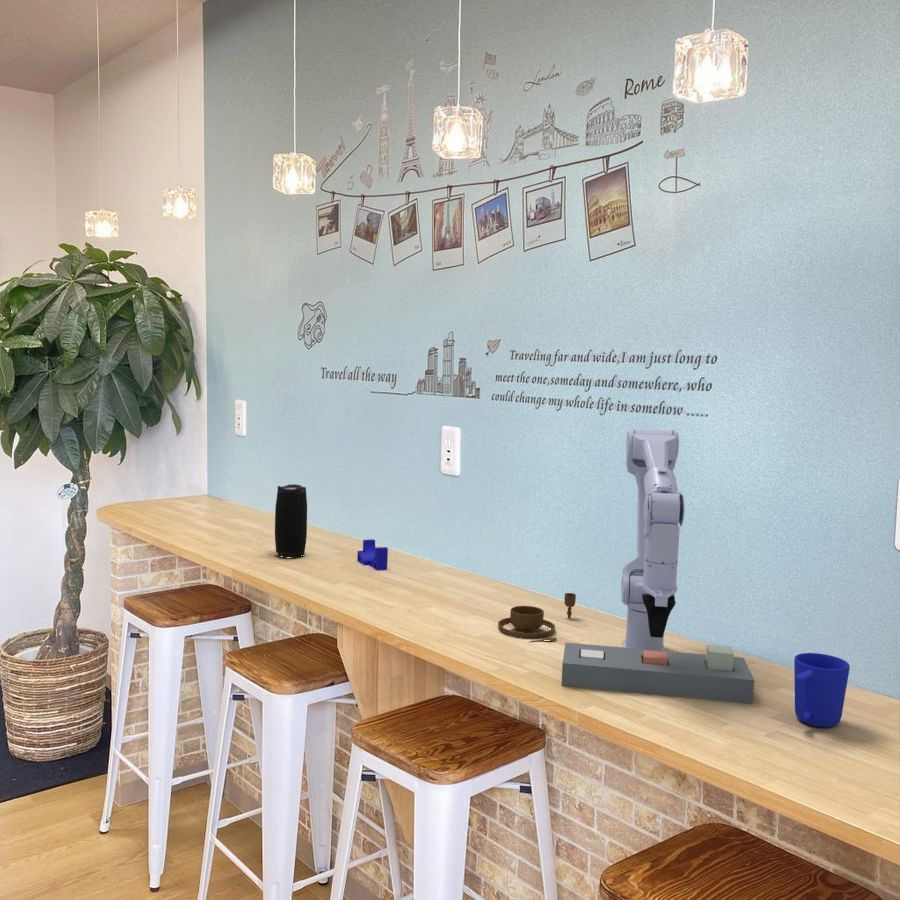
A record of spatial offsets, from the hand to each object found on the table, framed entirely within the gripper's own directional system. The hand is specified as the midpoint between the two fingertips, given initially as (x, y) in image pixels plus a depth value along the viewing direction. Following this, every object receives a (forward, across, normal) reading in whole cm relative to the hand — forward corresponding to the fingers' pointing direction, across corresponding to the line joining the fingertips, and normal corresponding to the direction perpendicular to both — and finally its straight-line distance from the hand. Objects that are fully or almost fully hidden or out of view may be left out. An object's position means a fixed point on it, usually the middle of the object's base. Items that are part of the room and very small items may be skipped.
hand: (656, 636), depth 160 cm
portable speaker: (+9, -77, -95) cm, 123 cm away
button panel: (+8, 0, 0) cm, 8 cm away
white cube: (+8, 0, -11) cm, 14 cm away
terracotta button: (+7, 0, 0) cm, 7 cm away
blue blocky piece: (+9, -73, -71) cm, 102 cm away
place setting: (+9, -27, -21) cm, 36 cm away
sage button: (+5, 0, +11) cm, 12 cm away
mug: (+9, +13, +24) cm, 29 cm away
